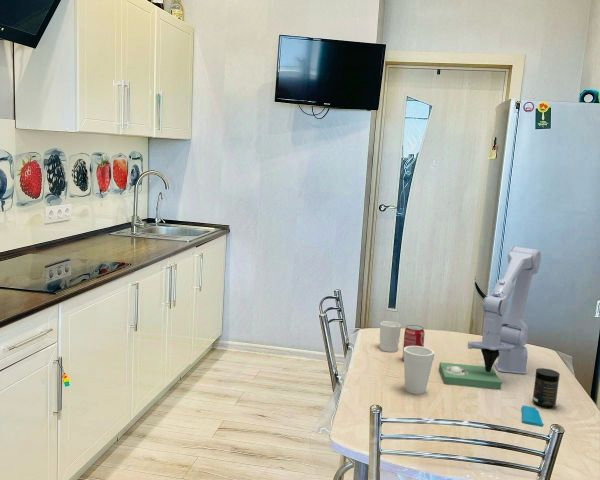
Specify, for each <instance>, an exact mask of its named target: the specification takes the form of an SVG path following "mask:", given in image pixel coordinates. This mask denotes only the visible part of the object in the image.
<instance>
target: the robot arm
mask: <svg viewBox="0 0 600 480" xmlns="http://www.w3.org/2000/svg"><path fill="white" fill-rule="evenodd" d="M507 262H508V263H507V264H508V265H507V266H506V270H505V272H504V275H503V278H500V279H498V280H497V281H496V283H495V285H494V287H493V289H492V291H491V293H490V294H489V295H487V296H485V297H484V299H483V301H482V311H483V314H482V316H483V318H484V319H483V320H484V321H483V329H482V337H481V341H467V349H468V350H472V349H475V350H480V351H481V353H482V357H483V362H484V367H485V370H486V372H491V368H493V367H495V368H496V370H497V371H498V372H499V373H500V372H501V373H509V374H510V373H511V374H521V375H526V374H527V366H528V365H527V364H528V348H527V347H526V345H527V342H528V337H529V334H528V333H529V327H528V325H527V324H526V322H524V320H523V317H524V312H525V309H526V304H527V299H528V297H529V291H530V288H531V287H530V286H531V282H532V278H533V276H534V275H536V274H538V272H539V270H540V269H539V268H540V265H541V262H542V255H541V251H540V249H537V248H536V249H534V248H528V247H521V246H515V245H511V246H510V248H509V250H508V253H507ZM511 295H512V297H511ZM510 297H511V301H510V306H509V310H508V305H509V300H510ZM507 310H508V312H507ZM506 312H507V313H508V314H507V316H506V317H504V315H505V314H506ZM496 361H497V362H496Z"/></svg>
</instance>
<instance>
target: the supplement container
mask: <svg viewBox="0 0 600 480" xmlns="http://www.w3.org/2000/svg"><path fill="white" fill-rule="evenodd" d="M534 375H535V377H534V385H533V394H532V403H533V404H534V405H535V406H537V407H539V408H543V409H548V410H549V409H554V408H555V407H556V405H557V396H558V389H559V382H560V376H561V375H560V372H559V371H557V370H554V369H550V368H543V367H539V368H537V369H536V370H535V374H534Z"/></svg>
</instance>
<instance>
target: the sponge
mask: <svg viewBox="0 0 600 480" xmlns="http://www.w3.org/2000/svg"><path fill="white" fill-rule="evenodd" d="M520 412H521V423H522V424H525V425H531V426H536V427H543V426H544V423H543V421H542V417H541V415H540V412H539V411H538V409H536V407H534V406H528V405H521V411H520Z"/></svg>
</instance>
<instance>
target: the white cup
mask: <svg viewBox="0 0 600 480" xmlns="http://www.w3.org/2000/svg"><path fill="white" fill-rule="evenodd" d="M379 324H380V326H379V349H380V350H381V351H384V352H387V353H393V352H394V353H395V352H397V351H398V350H399V344H400V343H399V342H400V337H401V328H402V324H401V323H399V322H396V321H391V320H390V321H389V320H383V321H380V323H379Z"/></svg>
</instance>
